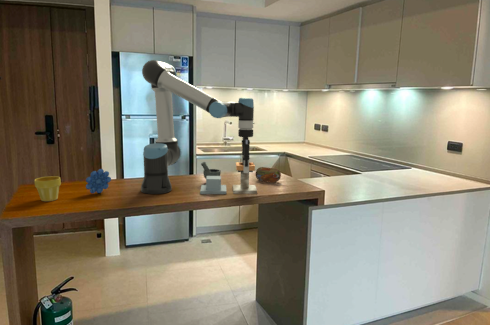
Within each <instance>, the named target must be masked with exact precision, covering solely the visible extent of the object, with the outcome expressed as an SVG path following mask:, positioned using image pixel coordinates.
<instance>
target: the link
mask: <svg viewBox="0 0 490 325" xmlns="http://www.w3.org/2000/svg"><path fill="white" fill-rule="evenodd" d="M235 170H236V171H238V170H240V171H243V170H244V165H242V161H241V162H240V161H239V162H236V161H235ZM249 171H253V172H254V171H255V172H256V165H255V163H254V162H251V161H249Z"/></svg>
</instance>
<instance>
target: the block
mask: <svg viewBox="0 0 490 325" xmlns="http://www.w3.org/2000/svg"><path fill="white" fill-rule="evenodd" d="M200 186H201V187H200V191H199V192H200V193H199V194H200V195H227V184H222V175H220V176H207V177H206V179H205V184H201V185H200Z"/></svg>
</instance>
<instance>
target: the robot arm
mask: <svg viewBox="0 0 490 325" xmlns="http://www.w3.org/2000/svg"><path fill="white" fill-rule="evenodd" d="M141 71H142V72H141V74H142V77H143V79H144V80H145V82H147V83H149V84H151V90H152V91H154V98H155V99H154V100H155V111H156V112H155V113H156V125H157V126H156V127H157V128H156V129H157V138H156V140H155V141H154V142H155V143H154V142H153V143H149V144H146V145H145V146H144V147H143V152H142V153H143V154H142V155H143V179H142V182H141V186H140V191H141V193H143V194H147V195H149V194H150V195H159V194H166V193H170V192H171V191H172V189H173V188H172V183H171V181H170V177H169V173H168V172H169V166H173V165H175V164H176V163H178V162H179V161H180V160H181V157H182V149H181V147H180V146H179V143H178V139H177V138H176V137H175V126H174V123H175V122H174V112H173V110H174V109H173V108H174V107H173V96H172V95H173V94H174V95H176V96H178V97H180V98H181V99H183V100H185V101H187V102H188V103H190V104H193V106H196V107H198V108H199V109H201V110H204V111H205V112H207V113H208V114H209V115H210V116H211V117H212V118H215V119H222V118H229V117H230V118H231V117H233V118H236V117H237V118H238V121H237V122H238V124H237V125H238V126H237V127H238V134H237V135H238V137H239V138H241V149H242V150H241V155H242V156H241V161H242V160H244V170H243V173H249V174H250V172H249V162H250V159H251V158H250V143H251V141H250V139H249V138H253V137H254V125H255V124H256V123H255V122H254V117H255V116H254V112H255V104H254V99H253V98H251V97H239V98H238V100H237V101H222V100H219V99H217V98H215V97H214V96H213V95H210V94H209V93H206V92H204V91H203V90H202V89H199V88H197V87H195V86H194V85H192V84H190V83H188V82H186V81H184V80H182V79H181V78H179V77H177V76H178V75H177V71H176V69H175V67H174V66H173V65H171V63H169V62H164V61H159V60H156V59H151V60H148V61H146V62H145V63H144V65H143V66H142V70H141ZM243 156H244V158H243Z"/></svg>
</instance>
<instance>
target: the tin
mask: <svg viewBox="0 0 490 325" xmlns="http://www.w3.org/2000/svg"><path fill="white" fill-rule="evenodd" d="M255 177H256V179H257V180H258V181H259V182H264V183H278V182H279V181H280V180H281V177H282V174H281V171H280V169H278V168H277V167H267V166H260V167H258V168H257V169H255Z"/></svg>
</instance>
